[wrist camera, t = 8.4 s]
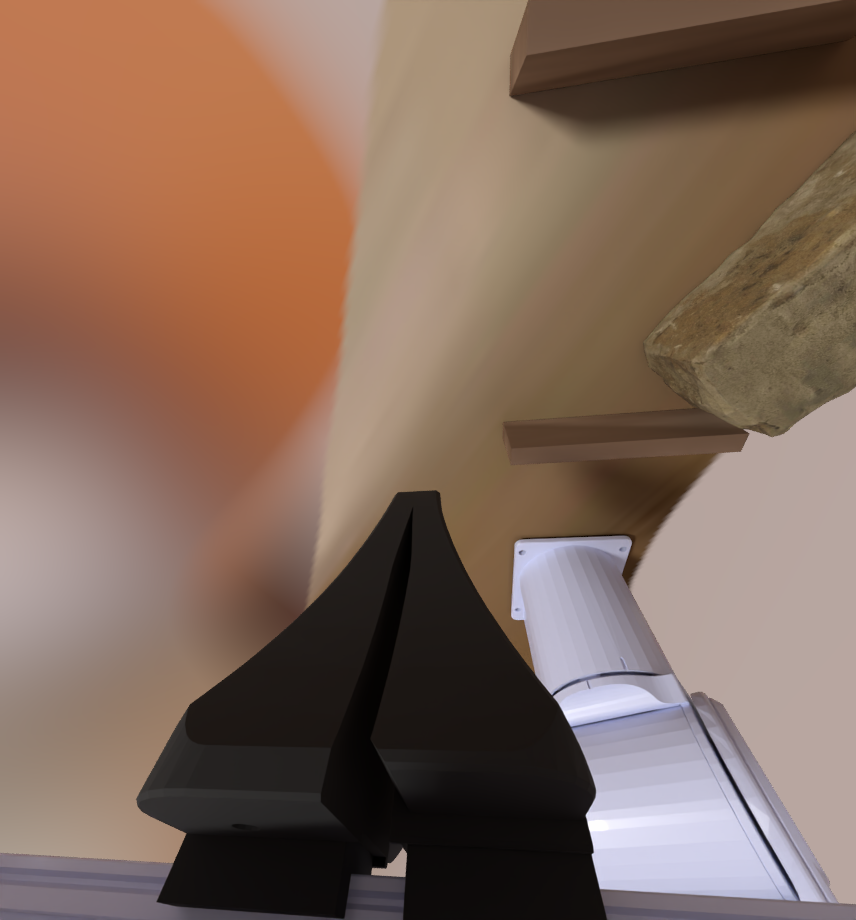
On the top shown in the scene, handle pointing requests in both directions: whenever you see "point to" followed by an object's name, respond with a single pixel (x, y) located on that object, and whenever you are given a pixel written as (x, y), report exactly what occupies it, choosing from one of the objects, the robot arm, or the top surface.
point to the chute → (628, 54)
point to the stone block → (773, 313)
